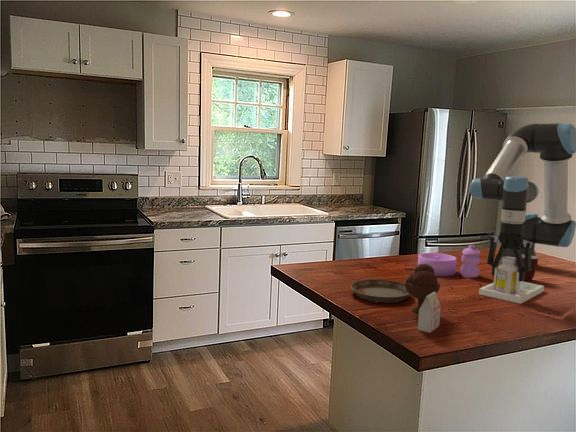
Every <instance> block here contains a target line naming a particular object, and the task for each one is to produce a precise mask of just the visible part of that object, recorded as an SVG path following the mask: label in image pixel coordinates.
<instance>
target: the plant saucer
mask: <svg viewBox="0 0 576 432" xmlns="http://www.w3.org/2000/svg"><path fill="white" fill-rule="evenodd" d="M350 287H351V290H352V291H353V293H354V294H355V295H356V296H357V297H358V296H359V297H358V298H359V299H362V298H363V299H362V300H364V299H366V300H365V301H367V300H369V301H368V302H371V301H375V302H374V303H378V302H385V303H384V304H391V303H390V302H396V303H400V302H402V301H405V300H406V299H407V298H408V297H409V296H411V295H410V294H409V293H408V292H407V290H406V288H405V283H402V282H399V281H396V280H389V279H377V278H376V279H361V280H356V281H355V282H353V283H352V284H351V285H350ZM361 289H362V290H363V291H364V292H365V293H366V294H363V293H360V292H357V291H358V290H361Z"/></svg>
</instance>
